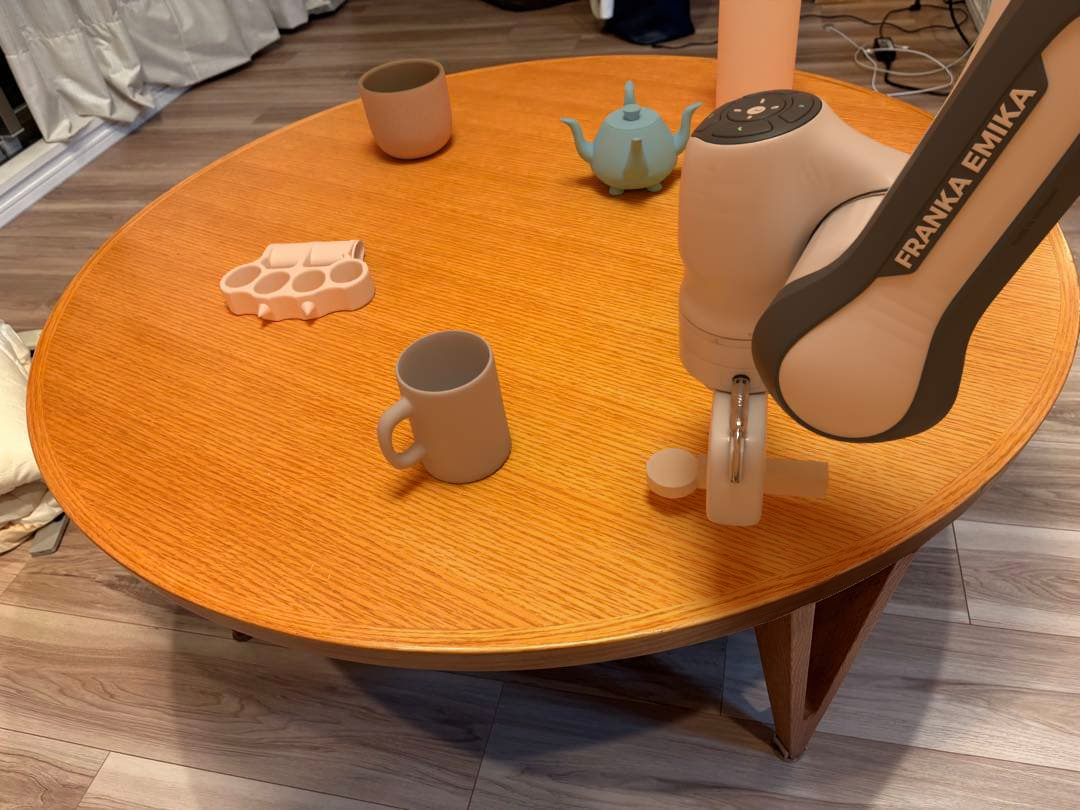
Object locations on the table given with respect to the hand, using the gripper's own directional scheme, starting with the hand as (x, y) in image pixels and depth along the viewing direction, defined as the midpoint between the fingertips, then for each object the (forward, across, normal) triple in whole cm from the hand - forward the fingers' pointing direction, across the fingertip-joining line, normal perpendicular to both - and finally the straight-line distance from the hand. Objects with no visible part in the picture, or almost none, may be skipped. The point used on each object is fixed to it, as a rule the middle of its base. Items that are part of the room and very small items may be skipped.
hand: (736, 468), depth 66 cm
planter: (+4, +64, +50) cm, 81 cm away
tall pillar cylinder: (+4, +75, +1) cm, 75 cm away
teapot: (+4, +54, +16) cm, 56 cm away
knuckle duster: (+4, +27, +52) cm, 58 cm away
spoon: (+2, 0, 0) cm, 2 cm away
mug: (+4, +2, +26) cm, 26 cm away
